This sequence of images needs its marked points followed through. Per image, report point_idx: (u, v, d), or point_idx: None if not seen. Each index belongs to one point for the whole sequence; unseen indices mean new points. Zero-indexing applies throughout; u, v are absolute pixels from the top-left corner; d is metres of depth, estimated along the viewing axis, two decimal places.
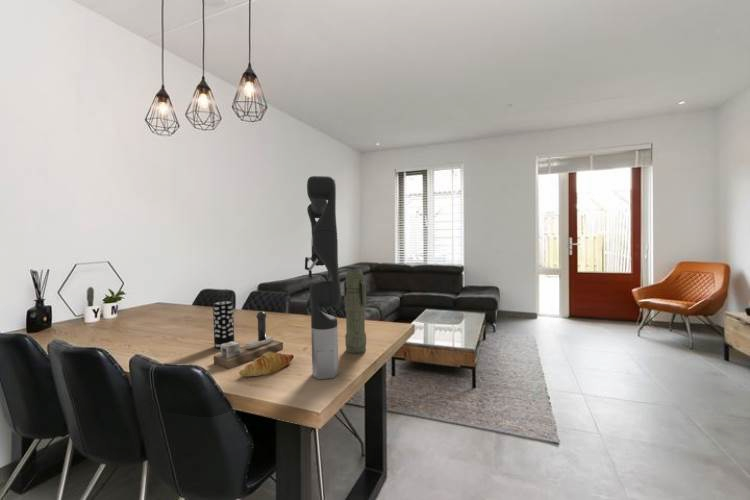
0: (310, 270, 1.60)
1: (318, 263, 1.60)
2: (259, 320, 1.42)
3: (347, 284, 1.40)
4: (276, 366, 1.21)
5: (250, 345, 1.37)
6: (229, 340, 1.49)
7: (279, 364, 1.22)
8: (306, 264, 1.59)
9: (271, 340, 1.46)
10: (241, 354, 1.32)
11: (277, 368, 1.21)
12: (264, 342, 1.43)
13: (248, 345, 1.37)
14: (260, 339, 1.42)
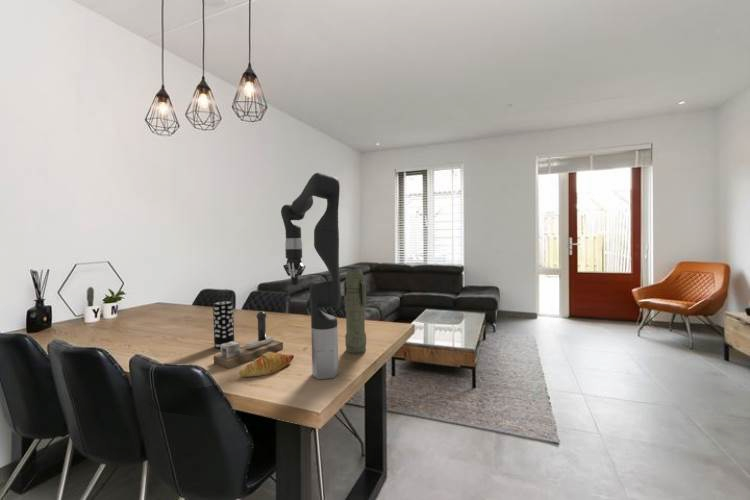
0: (297, 276, 1.55)
1: None
2: (259, 320, 1.42)
3: (347, 284, 1.40)
4: (276, 366, 1.21)
5: (250, 345, 1.37)
6: (229, 340, 1.49)
7: (279, 364, 1.22)
8: None
9: (271, 340, 1.46)
10: (241, 354, 1.32)
11: (277, 368, 1.21)
12: (264, 342, 1.43)
13: (248, 345, 1.37)
14: (260, 339, 1.42)
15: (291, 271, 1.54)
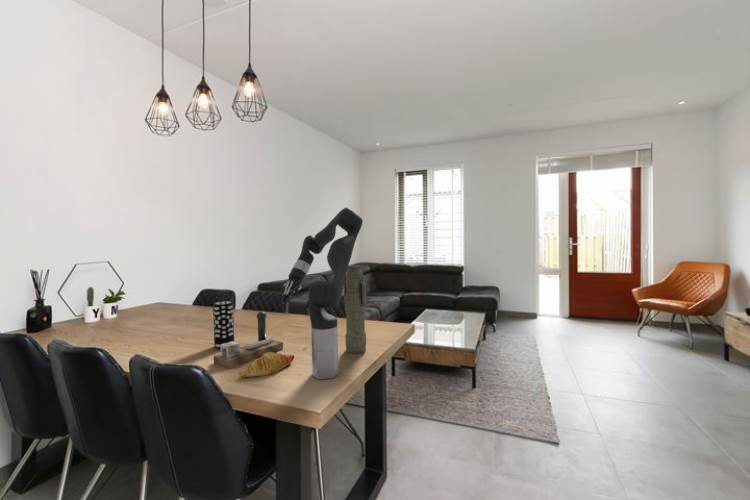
0: (289, 296, 1.55)
1: None
2: (259, 320, 1.42)
3: (347, 284, 1.40)
4: (276, 367, 1.20)
5: (250, 345, 1.37)
6: (229, 340, 1.49)
7: (279, 365, 1.21)
8: None
9: (271, 340, 1.46)
10: (241, 354, 1.32)
11: (277, 369, 1.21)
12: (264, 342, 1.43)
13: (248, 345, 1.37)
14: (260, 339, 1.42)
15: (287, 289, 1.55)
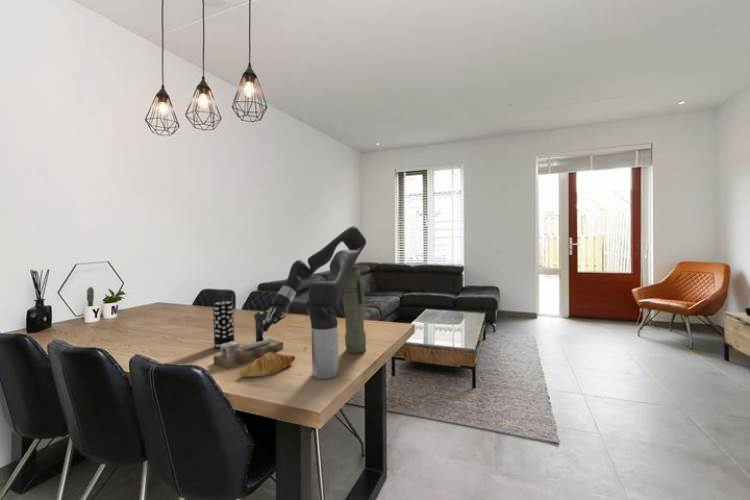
0: (270, 324, 1.47)
1: None
2: (257, 321, 1.41)
3: None
4: (276, 367, 1.20)
5: (247, 346, 1.36)
6: (229, 340, 1.49)
7: (279, 365, 1.21)
8: None
9: (269, 341, 1.45)
10: (241, 354, 1.32)
11: (277, 369, 1.20)
12: (261, 343, 1.42)
13: (245, 346, 1.36)
14: (258, 340, 1.41)
15: (269, 316, 1.47)
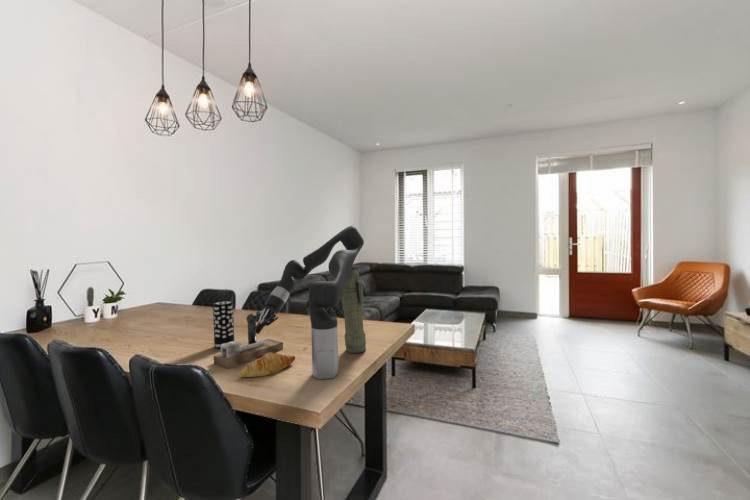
0: None
1: None
2: (249, 323, 1.37)
3: None
4: (276, 367, 1.20)
5: None
6: (229, 340, 1.49)
7: (279, 365, 1.21)
8: None
9: (262, 343, 1.42)
10: (241, 354, 1.32)
11: (277, 369, 1.20)
12: (254, 345, 1.39)
13: None
14: (250, 342, 1.38)
15: (261, 317, 1.44)
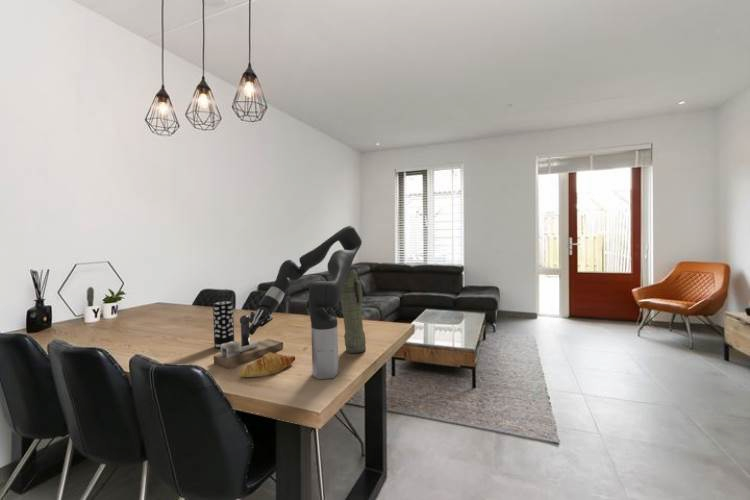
0: None
1: None
2: (242, 324, 1.35)
3: None
4: (276, 367, 1.20)
5: None
6: (229, 340, 1.49)
7: (279, 365, 1.21)
8: None
9: (255, 345, 1.39)
10: (241, 354, 1.32)
11: (277, 369, 1.20)
12: (247, 347, 1.36)
13: None
14: (243, 344, 1.35)
15: (255, 318, 1.41)
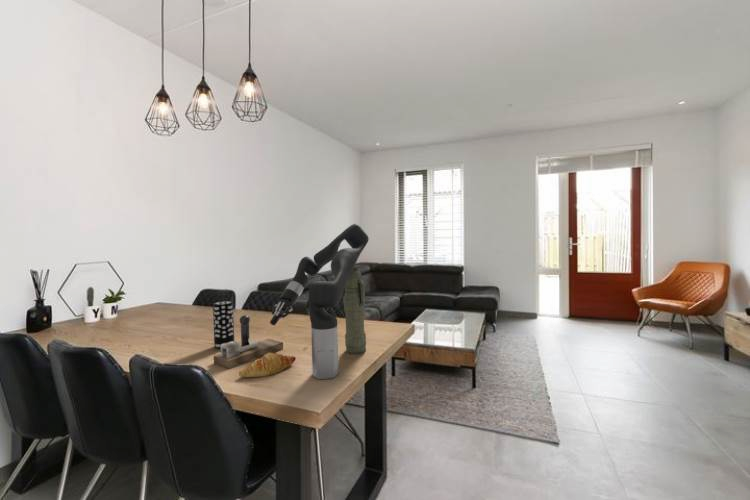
0: None
1: None
2: (242, 324, 1.35)
3: None
4: (276, 368, 1.19)
5: None
6: (229, 340, 1.49)
7: (279, 366, 1.20)
8: None
9: (255, 345, 1.39)
10: (241, 354, 1.32)
11: (277, 370, 1.20)
12: (247, 347, 1.36)
13: None
14: (243, 344, 1.35)
15: (277, 310, 1.51)
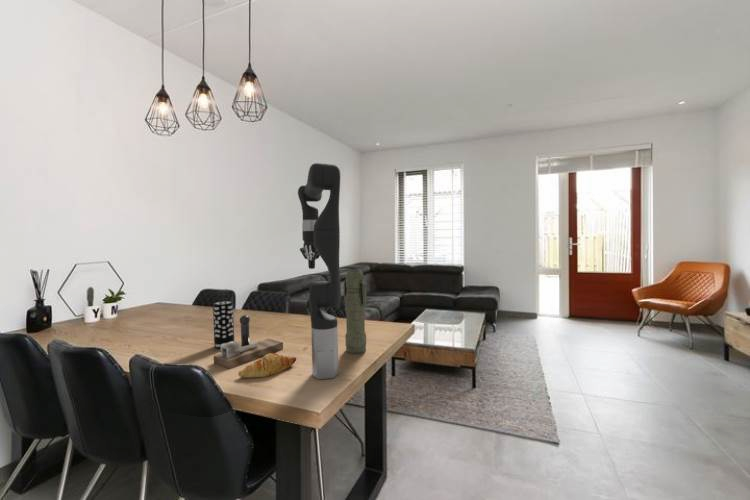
0: None
1: None
2: (242, 324, 1.35)
3: (347, 284, 1.40)
4: (275, 368, 1.19)
5: None
6: (229, 340, 1.49)
7: (279, 366, 1.20)
8: None
9: (255, 345, 1.39)
10: (241, 354, 1.32)
11: (277, 370, 1.19)
12: (247, 347, 1.36)
13: None
14: (243, 344, 1.35)
15: (308, 254, 1.49)
